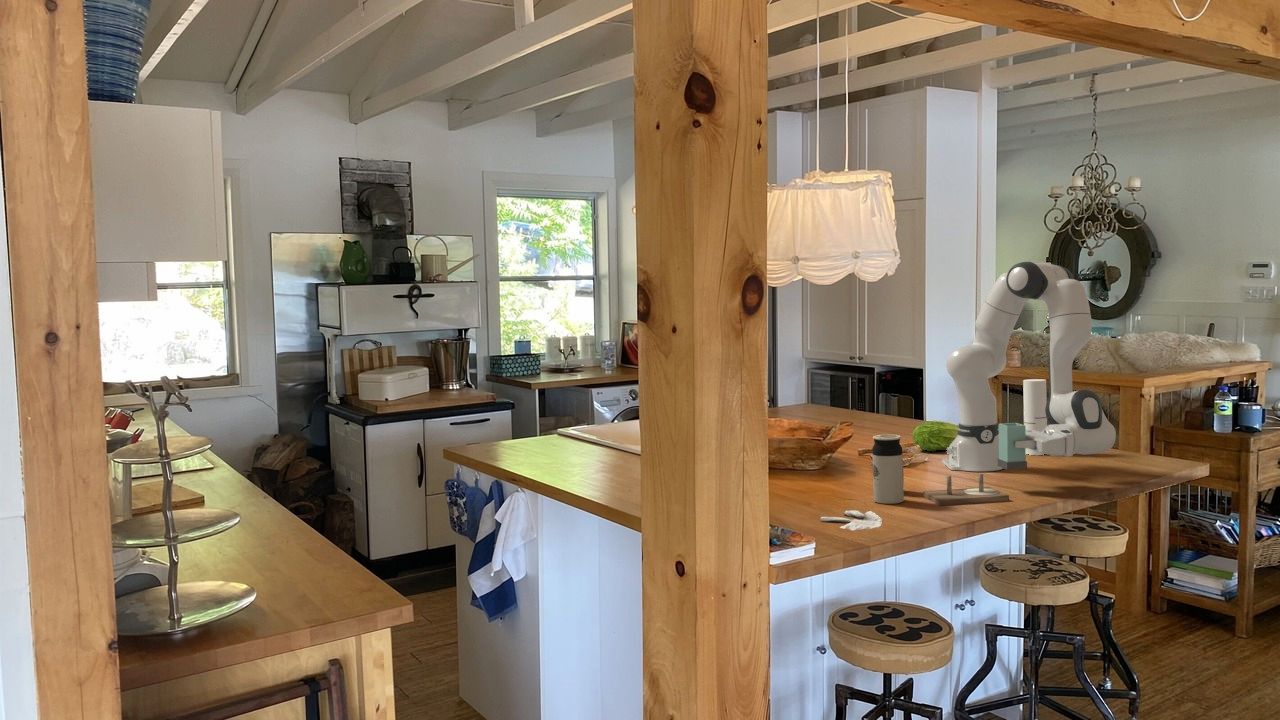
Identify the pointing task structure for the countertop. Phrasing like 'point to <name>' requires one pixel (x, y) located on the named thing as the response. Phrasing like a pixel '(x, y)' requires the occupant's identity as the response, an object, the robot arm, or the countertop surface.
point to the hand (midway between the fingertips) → (1009, 442)
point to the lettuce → (935, 435)
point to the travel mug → (887, 469)
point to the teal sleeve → (1011, 446)
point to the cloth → (856, 524)
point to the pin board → (965, 494)
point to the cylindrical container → (1034, 407)
